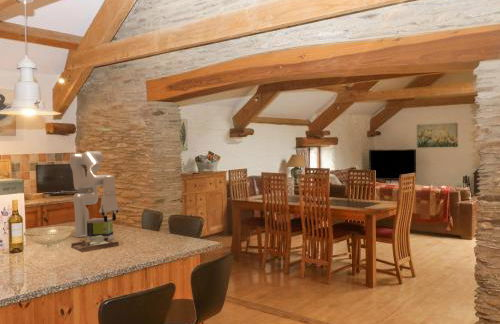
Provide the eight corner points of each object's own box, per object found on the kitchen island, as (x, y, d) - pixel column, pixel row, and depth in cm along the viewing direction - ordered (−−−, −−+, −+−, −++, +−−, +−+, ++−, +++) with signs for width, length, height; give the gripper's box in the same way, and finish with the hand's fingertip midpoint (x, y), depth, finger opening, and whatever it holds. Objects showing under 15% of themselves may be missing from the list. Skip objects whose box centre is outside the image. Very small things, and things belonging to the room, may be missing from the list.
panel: (85, 243, 300) (85, 236, 299) (100, 241, 306) (99, 233, 306) (94, 247, 289) (94, 239, 289) (109, 244, 296) (109, 236, 296)
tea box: (113, 238, 322) (113, 217, 321) (108, 241, 312) (107, 220, 311) (92, 238, 323) (92, 217, 322) (86, 241, 313) (86, 220, 312)
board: (71, 247, 295) (71, 239, 295) (106, 241, 311) (106, 234, 311) (82, 252, 282) (82, 243, 282) (118, 245, 298) (118, 237, 298)
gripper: (118, 192, 311) (119, 219, 312) (94, 194, 299) (95, 222, 300) (123, 193, 305) (124, 220, 306) (99, 195, 294) (99, 223, 295)
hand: (109, 220), depth 303 cm, fingers open, 5 cm apart
